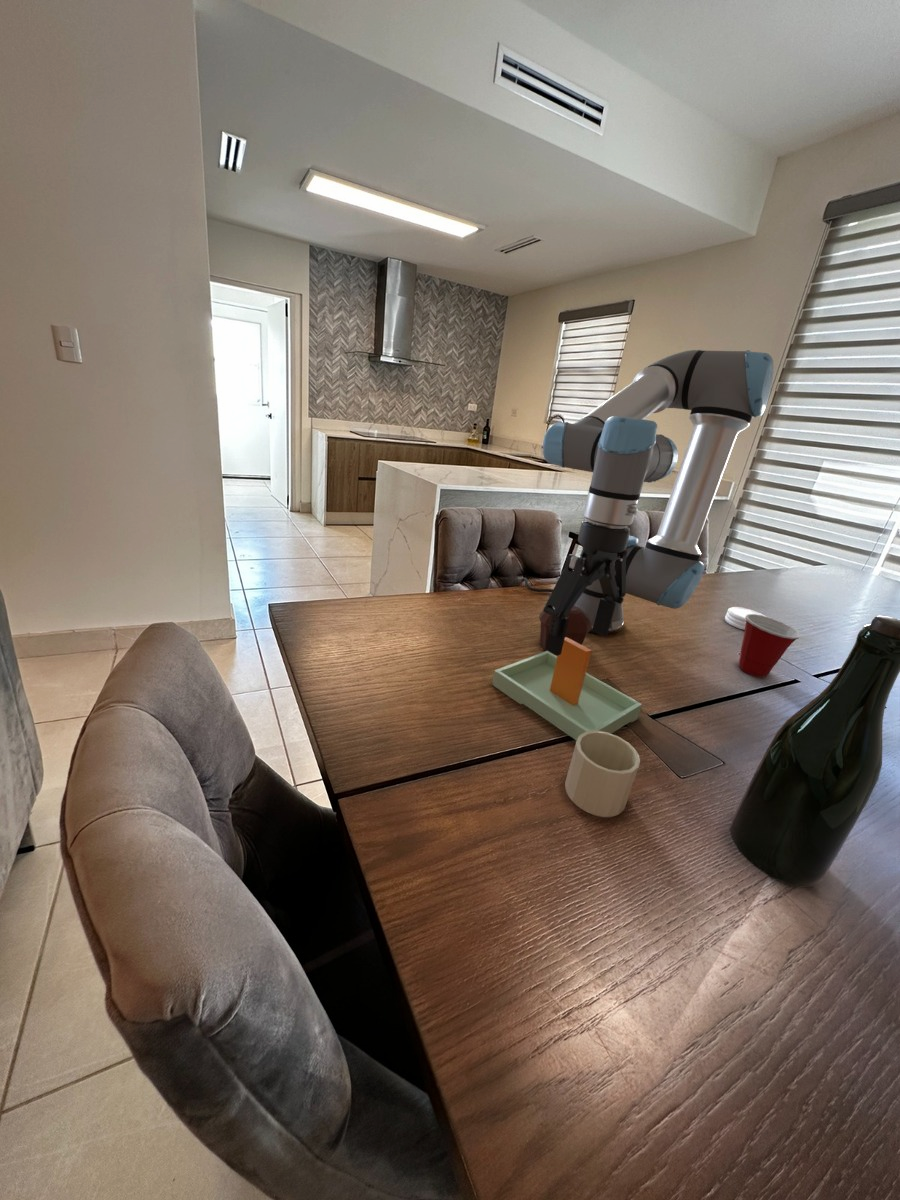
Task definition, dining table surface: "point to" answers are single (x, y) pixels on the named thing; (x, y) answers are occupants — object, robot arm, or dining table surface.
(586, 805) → the sugar cup
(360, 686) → the dining table surface
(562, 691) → the plate
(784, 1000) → the dining table surface
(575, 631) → the muffin
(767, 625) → the plastic cup
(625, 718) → the tray
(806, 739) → the beer bottle
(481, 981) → the dining table surface
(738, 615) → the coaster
